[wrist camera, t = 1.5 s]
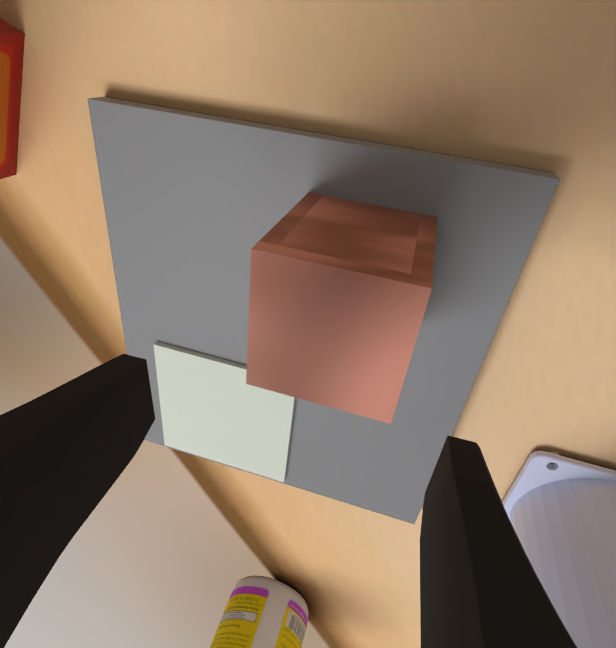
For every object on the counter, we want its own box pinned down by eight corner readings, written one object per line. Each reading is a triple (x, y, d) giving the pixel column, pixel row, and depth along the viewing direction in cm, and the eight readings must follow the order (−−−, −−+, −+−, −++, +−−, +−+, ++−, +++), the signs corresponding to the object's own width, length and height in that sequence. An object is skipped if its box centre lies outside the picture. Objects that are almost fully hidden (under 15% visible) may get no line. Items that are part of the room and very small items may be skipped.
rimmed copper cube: (437, 217, 16) (432, 288, 11) (406, 327, 19) (390, 423, 14) (308, 192, 17) (251, 248, 12) (296, 301, 20) (246, 383, 15)
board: (554, 172, 15) (602, 229, 10) (415, 509, 26) (407, 614, 21) (104, 96, 18) (-24, 113, 13) (148, 427, 29) (88, 502, 24)
